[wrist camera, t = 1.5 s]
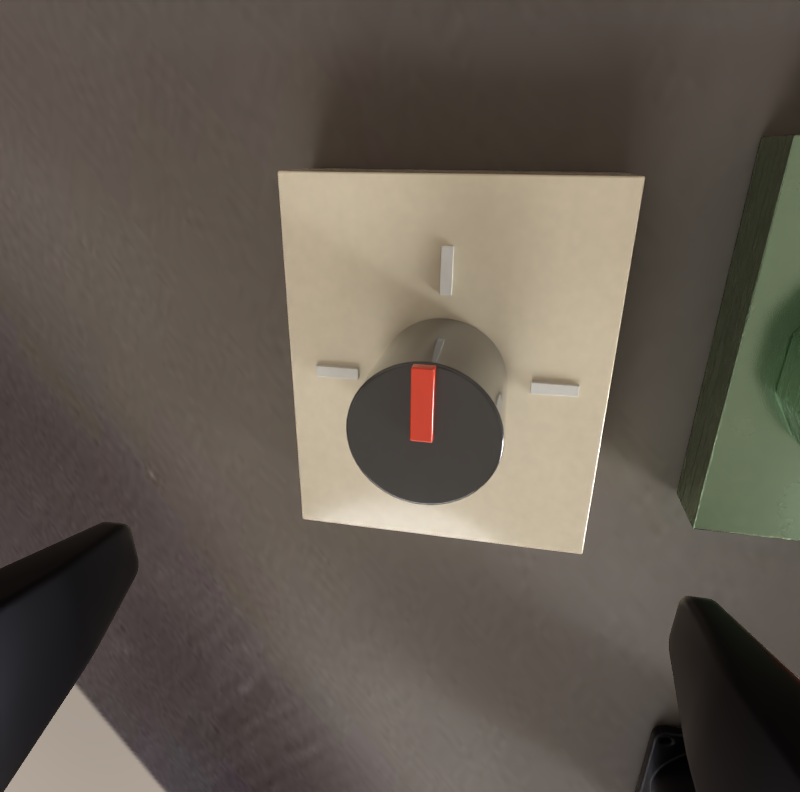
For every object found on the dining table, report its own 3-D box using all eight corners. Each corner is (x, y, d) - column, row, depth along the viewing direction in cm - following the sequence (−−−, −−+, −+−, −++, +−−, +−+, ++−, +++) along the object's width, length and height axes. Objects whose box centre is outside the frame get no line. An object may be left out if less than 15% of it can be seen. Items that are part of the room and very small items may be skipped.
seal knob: (502, 442, 18) (497, 521, 14) (380, 430, 19) (344, 503, 15) (513, 321, 17) (511, 373, 13) (379, 313, 17) (338, 360, 13)
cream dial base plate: (574, 505, 22) (582, 557, 19) (327, 477, 24) (300, 521, 21) (625, 172, 17) (647, 176, 14) (311, 168, 19) (274, 171, 16)
